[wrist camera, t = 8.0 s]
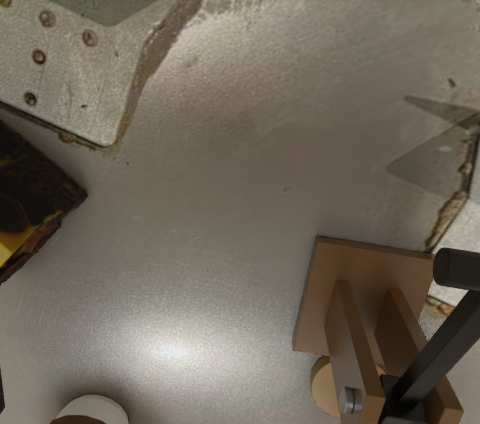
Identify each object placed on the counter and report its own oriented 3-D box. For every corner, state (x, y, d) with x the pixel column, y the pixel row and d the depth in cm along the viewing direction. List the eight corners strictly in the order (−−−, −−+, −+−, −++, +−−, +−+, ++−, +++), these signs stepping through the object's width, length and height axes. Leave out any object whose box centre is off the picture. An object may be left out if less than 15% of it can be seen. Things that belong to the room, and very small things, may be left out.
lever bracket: (316, 235, 33) (340, 344, 21) (433, 253, 33) (525, 374, 21) (292, 341, 36) (300, 485, 25) (397, 358, 36) (457, 511, 24)
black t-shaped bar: (441, 230, 17) (456, 279, 15) (571, 250, 16) (602, 302, 15) (342, 390, 26) (345, 432, 24) (424, 404, 26) (432, 446, 24)
